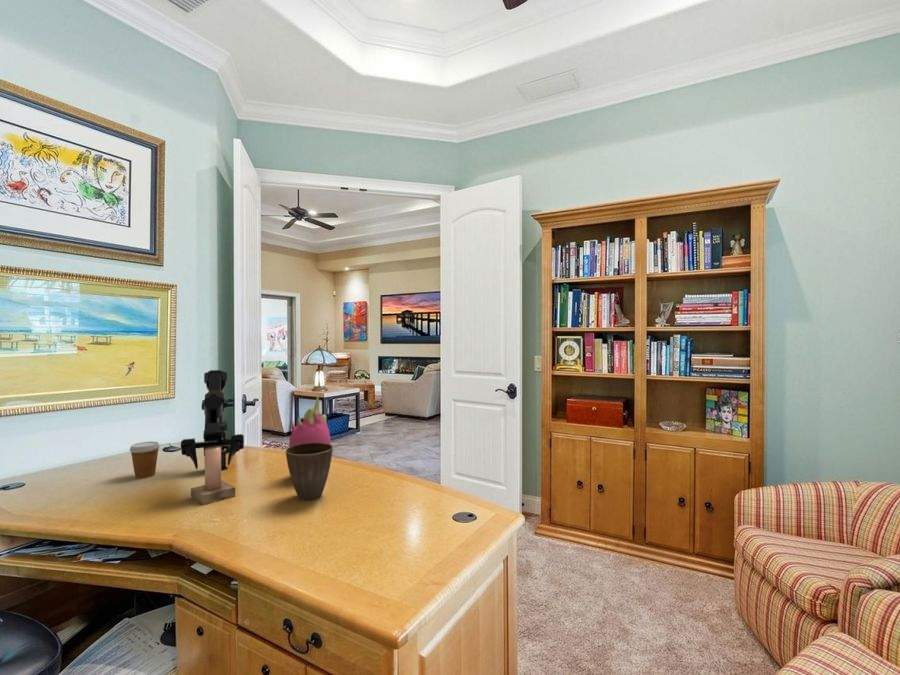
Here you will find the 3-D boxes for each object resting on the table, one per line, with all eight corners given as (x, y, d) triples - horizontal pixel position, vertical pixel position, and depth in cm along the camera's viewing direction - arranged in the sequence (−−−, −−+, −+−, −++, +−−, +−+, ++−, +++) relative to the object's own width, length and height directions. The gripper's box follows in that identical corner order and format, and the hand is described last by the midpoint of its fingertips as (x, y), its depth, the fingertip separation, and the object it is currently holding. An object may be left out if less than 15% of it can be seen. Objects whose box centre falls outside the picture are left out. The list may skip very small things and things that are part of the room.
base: (222, 489, 155) (222, 480, 155) (235, 496, 148) (235, 487, 148) (190, 497, 148) (190, 488, 147) (202, 504, 141) (202, 495, 141)
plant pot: (319, 506, 139) (319, 455, 139) (276, 503, 142) (276, 453, 142) (340, 490, 154) (340, 443, 154) (301, 487, 157) (300, 441, 157)
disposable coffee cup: (148, 479, 165) (148, 447, 165) (123, 479, 166) (123, 447, 166) (165, 471, 175) (165, 441, 175) (141, 471, 175) (141, 441, 175)
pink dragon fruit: (316, 467, 181) (315, 392, 180) (340, 472, 174) (340, 395, 173) (279, 479, 165) (278, 398, 165) (304, 485, 158) (304, 401, 158)
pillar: (211, 484, 151) (210, 446, 151) (224, 485, 150) (224, 446, 150) (201, 489, 146) (201, 450, 146) (215, 490, 145) (214, 450, 145)
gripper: (181, 415, 147) (177, 457, 137) (243, 410, 155) (244, 450, 146) (183, 434, 154) (180, 475, 145) (243, 429, 163) (244, 467, 153)
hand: (212, 466), depth 147 cm, fingers open, 9 cm apart
